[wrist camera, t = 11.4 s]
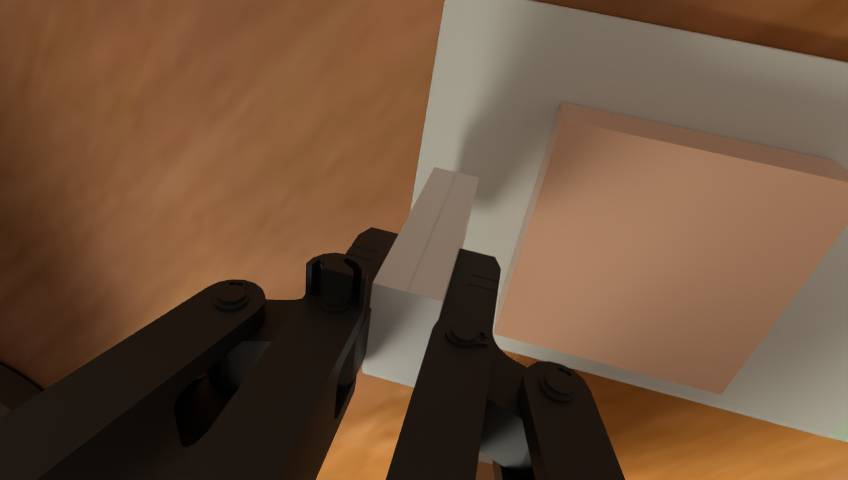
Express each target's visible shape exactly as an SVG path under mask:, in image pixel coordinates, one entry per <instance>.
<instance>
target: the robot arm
mask: <svg viewBox="0 0 848 480" xmlns="http://www.w3.org/2000/svg"><path fill="white" fill-rule="evenodd" d="M478 182H479V177H475V176H471V175H466V174H462V173H458V172H453V171H449V170H445V169H441V168H436V167H434V169H433V171H432V172H431V174H430V176H429V178H428V180H427V182H426V184H425V186H424V187H423V189H422V191H421V193H420V195H419V197H418V199H417V201H416V202H415V204H414V206H413V208H412V210H411V212H410V214H409V216H408V217H407V219H406V221H405V223H404V225H403V227H402V229H401V231H400V232H399V234H396V233H392V232H388V231H384V230H380V229H376V228H370V229H368V230H366V231H364V232H362V233H361V234H359V235H358V236H357V238H356V239H355V241H354V242H353V244H352V246H351V247H350V248H349V250H348V251H347V253H346V254H340V253H329V254H322V255H319V256H317V257H314V258H312V259H311V260H310V261H309V262H307V263H306V294H305V296H304V297H303V298H302V299H297V300H267V299H265V294H264V292H263V290H262V288H260V287H259V286H258V285H256V284H255V283H252V282H249V281H246V280H226V281H221V282H218V283H215V284H213V285H211V286H209V287H207V288H205V289H204V290H202V291H201V292H199V293H197V294H196V295H194V296H193V297H191V298H190V299H188V300H186V301H185V302H183V303H182V304H180V305H179V306H177V307H175V308H174V309H172V310H171V311H169V312H167V313H166V314H164V315H163V316H161V317H160V318H158V319H156V320H155V321H153V322H152V323H150V324H148V325H147V326H145V327H144V328H142V329H141V330H139V331H137V332H136V333H134V334H133V335H131V336H129V337H128V338H126V339H125V340H123V341H122V342H120V343H118V344H117V345H115V346H114V347H112V348H111V349H109V350H107V351H106V352H104V353H103V354H101V355H99V356H98V357H96V358H95V359H93V360H92V361H90V362H88V363H87V364H85V365H84V366H82V367H80V368H79V369H77V370H76V371H74V372H73V373H71V374H69V375H68V376H66V377H65V378H63V379H61V380H60V381H58V382H57V383H55V384H54V385H52V386H50V387H49V388H47V389H46V390H44V391H41V390H39V389H38V388H37V387H35V386H34V385H33V384H31V383H30V382H28V381H27V380H26V379H24V378H23V377H21V376H20V375H18V374H16V373H15V372H13V371H11V370H10V369H8V368H6V367H4V366H3V365H1V364H0V480H316V477H317V475H318V473H319V471H320V468H321V466H322V464H323V461H324V459H325V457H326V455H327V452H328V450H329V448H330V446H331V443H332V441H333V439H334V436H335V434H336V432H337V430H338V427H339V425H340V423H341V420H342V418H343V416H344V414H345V411H346V409H347V407H348V404H349V402H350V400H351V398H352V395H353V393H354V390H355V384H356V377H357V373H358V371H359V368H360V366H361V364H362V362H363V367H362V373H364V374H368V375H371V376H375V377H378V378H382V379H385V380H389V381H392V382H396V383H399V384H403V385H406V386H410V387H413V388H414V390H413V393H412V396H411V400H410V403H409V406H408V409H407V413H406V416H405V419H404V422H403V426H402V429H401V432H400V435H399V439H398V442H397V445H396V448H395V451H394V455H393V458H392V461H391V464H390V468H389V471H388V474H387V477H386V480H476V473H477V466H478V459H479V451H480V452H482V453H483V454H485V455H486V456H488V457H489V458H491V459H492V460H493V471H494V477H495V480H625V478H624V476H623V473H622V470H621V468H620V465H619V463H618V460H617V458H616V455H615V452H614V450H613V447H612V445H611V442H610V440H609V437H608V435H607V432H606V429H605V427H604V424H603V422H602V419H601V417H600V414H599V412H598V409H597V406H596V404H595V401H594V399H593V396H592V394H591V391H590V389H589V387H588V386H587V384H586V383H585V381H584V379H582V378H581V377H580V376H579V375H578V374H577V373H576V372H575V371H573V370H572V369H570V368H568V367H566V366H564V365H562V364H559V363H554V362H550V361H545V362H537V363H535V364H533V365H531V366H529V367H528V368H527V367H525V366H523V365H522V364H520V363H518V362H516V361H514V360H513V359H511V358H510V357H508V356H507V355H506V354H505V353H504V352H503V351H502V350H501V349H500V348H499V347H498V345H497V344H496V342H495V340H494V337H493V324H494V317H495V310H496V302H497V295H498V288H499V281H500V274H501V268H500V266H499V264H498V262H497V260H496V258H495V257H493V256H489V255H485V254H481V253H477V252H473V251H469V250H465V249H463V245H464V241H465V236H466V232H467V228H468V224H469V219H470V215H471V211H472V207H473V203H474V198H475V194H476V190H477V186H478Z"/></svg>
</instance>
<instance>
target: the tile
mask: <svg viewBox="0 0 848 480" xmlns="http://www.w3.org/2000/svg"><path fill="white" fill-rule="evenodd" d="M847 225H848V170H847V169H846V168H844V167H843V166H842V165H840V164H839V163H837V162H836V161H834V160H830V159H825V158H821V157H816V156H811V155H807V154H802V153H797V152H793V151H788V150H784V149H779V148H774V147H770V146H765V145H760V144H756V143H751V142H746V141H742V140H737V139H733V138H728V137H723V136H719V135H714V134H709V133H705V132H700V131H696V130H691V129H686V128H682V127H677V126H672V125H668V124H663V123H658V122H654V121H649V120H645V119H640V118H635V117H631V116H626V115H621V114H617V113H612V112H608V111H603V110H598V109H594V108H589V107H584V106H580V105H575V104H570V103H566V102H560V105H559V109H558V112H557V115H556V118H555V121H554V125H553V128H552V131H551V134H550V137H549V140H548V144H547V147H546V150H545V153H544V156H543V160H542V163H541V166H540V169H539V172H538V176H537V179H536V182H535V185H534V188H533V191H532V195H531V198H530V201H529V204H528V207H527V211H526V214H525V217H524V220H523V223H522V227H521V230H520V233H519V236H518V239H517V243H516V246H515V249H514V252H513V255H512V258H511V262H510V265H509V268H508V271H507V274H506V278H505V281H504V284H503V287H502V290H501V294H500V297H499V300H498V307H497V315H496V322H495V330H494V334H495V335H499V336H503V337H507V338H510V339H514V340H518V341H522V342H525V343H529V344H533V345H537V346H540V347H544V348H548V349H552V350H555V351H559V352H563V353H566V354H570V355H574V356H578V357H581V358H585V359H589V360H593V361H596V362H600V363H604V364H608V365H611V366H615V367H619V368H622V369H626V370H630V371H634V372H637V373H641V374H645V375H649V376H652V377H656V378H660V379H664V380H667V381H671V382H675V383H679V384H682V385H686V386H690V387H693V388H697V389H701V390H705V391H708V392H712V393H716V394H720V395H721V394H722V393H723V392H724V390H725V389H726V388H727V386H728V385H729V384H730V382H731V381H732V380H733V378H734V377H735V376H736V374H737V373H738V372H739V370H740V369H741V368H742V366H743V365H744V364H745V362H746V361H747V359H748V358H749V357H750V355H751V354H752V353H753V351H754V350H755V349H756V347H757V346H758V345H759V343H760V342H761V341H762V339H763V338H764V337H765V335H766V334H767V333H768V331H769V330H770V329H771V327H772V326H773V325H774V323H775V322H776V320H777V319H778V318H779V316H780V315H781V314H782V312H783V311H784V310H785V308H786V307H787V306H788V304H789V303H790V302H791V300H792V299H793V298H794V296H795V295H796V294H797V292H798V291H799V290H800V288H801V287H802V286H803V284H804V283H805V282H806V280H807V279H808V277H809V276H810V275H811V273H812V272H813V271H814V269H815V268H816V267H817V265H818V264H819V263H820V261H821V260H822V259H823V257H824V256H825V255H826V253H827V252H828V251H829V249H830V248H831V247H832V245H833V244H834V243H835V241H836V240H837V238H838V237H839V236H840V234H841V233H842V232H843V230H844V229H845V228H846V226H847Z"/></svg>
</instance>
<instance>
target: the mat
mask: <svg viewBox="0 0 848 480" xmlns="http://www.w3.org/2000/svg"><path fill="white" fill-rule="evenodd" d="M560 102H566V103H570V104H575V105H580V106H584V107H589V108H594V109H598V110H603V111H608V112H612V113H617V114H621V115H626V116H631V117H635V118H640V119H645V120H649V121H654V122H658V123H663V124H668V125H672V126H677V127H682V128H686V129H691V130H696V131H700V132H705V133H709V134H714V135H719V136H723V137H728V138H733V139H737V140H742V141H746V142H751V143H756V144H760V145H765V146H770V147H774V148H779V149H784V150H788V151H793V152H797V153H802V154H807V155H811V156H816V157H821V158H825V159H830V160H834V161H836V162H837V163H839V164H840V165H842V166H843V167H844V168H846V169H847V170H848V62H844V61H839V60H834V59H829V58H823V57H818V56H813V55H808V54H803V53H798V52H793V51H788V50H783V49H778V48H772V47H767V46H762V45H757V44H752V43H747V42H742V41H737V40H732V39H727V38H721V37H716V36H711V35H706V34H701V33H696V32H691V31H686V30H681V29H676V28H670V27H665V26H660V25H655V24H650V23H645V22H640V21H635V20H630V19H625V18H620V17H614V16H609V15H604V14H599V13H594V12H589V11H584V10H579V9H574V8H569V7H563V6H558V5H553V4H548V3H543V2H538V1H533V0H445V2H444V8H443V14H442V20H441V26H440V33H439V39H438V45H437V51H436V57H435V63H434V69H433V75H432V82H431V88H430V94H429V100H428V106H427V112H426V118H425V125H424V131H423V137H422V143H421V149H420V155H419V161H418V167H417V174H416V180H415V186H414V192H413V198H412V204H411V210H412V208H413V206H414V204H415V202H416V201H417V199H418V197H419V195H420V193H421V191H422V189H423V187H424V186H425V184H426V182H427V180H428V178H429V176H430V174H431V172H432V171H433V169H434V167H436V168H441V169H445V170H449V171H453V172H458V173H462V174H466V175H471V176H475V177H479V182H478V186H477V190H476V194H475V198H474V203H473V207H472V211H471V215H470V219H469V224H468V228H467V232H466V236H465V241H464V245H463V249H465V250H469V251H473V252H477V253H481V254H485V255H489V256H493V257H495V258H496V260H497V262H498V264H499V266H500V268H501V274H500V281H499V288H498V295H497V302H496V310H495V317H494V324H493V337H494V340H495V342H496V344H497V345H498V347H499V348H500V349H501V350H505V351H509V352H513V353H516V354H520V355H524V356H527V357H531V358H535V359H538V360H542V361H550V362H554V363H559V364H562V365H564V366H566V367H568V368H572V369H575V370H579V371H583V372H586V373H590V374H594V375H598V376H601V377H605V378H609V379H612V380H616V381H620V382H623V383H627V384H631V385H635V386H638V387H642V388H646V389H649V390H653V391H657V392H660V393H664V394H668V395H671V396H675V397H679V398H683V399H686V400H690V401H694V402H697V403H701V404H705V405H708V406H712V407H716V408H720V409H723V410H727V411H731V412H734V413H738V414H742V415H745V416H749V417H753V418H757V419H760V420H764V421H768V422H771V423H775V424H779V425H782V426H786V427H790V428H793V429H797V430H801V431H805V432H808V433H812V434H816V435H819V436H823V437H829V438H833V439H837V440H840V441H844V442H848V225H847V226H846V228H845V229H844V230H843V232H842V233H841V234H840V236H839V237H838V238H837V240H836V241H835V243H834V244H833V245H832V247H831V248H830V249H829V251H828V252H827V253H826V255H825V256H824V257H823V259H822V260H821V261H820V263H819V264H818V265H817V267H816V268H815V269H814V271H813V272H812V273H811V275H810V276H809V277H808V279H807V280H806V282H805V283H804V284H803V286H802V287H801V288H800V290H799V291H798V292H797V294H796V295H795V296H794V298H793V299H792V300H791V302H790V303H789V304H788V306H787V307H786V308H785V310H784V311H783V312H782V314H781V315H780V316H779V318H778V319H777V320H776V322H775V323H774V325H773V326H772V327H771V329H770V330H769V331H768V333H767V334H766V335H765V337H764V338H763V339H762V341H761V342H760V343H759V345H758V346H757V347H756V349H755V350H754V351H753V353H752V354H751V355H750V357H749V358H748V359H747V361H746V362H745V364H744V365H743V366H742V368H741V369H740V370H739V372H738V373H737V374H736V376H735V377H734V378H733V380H732V381H731V382H730V384H729V385H728V386H727V388H726V389H725V390H724V392H723V393H722V394H721V395H720V394H716V393H712V392H708V391H705V390H701V389H697V388H693V387H690V386H686V385H682V384H679V383H675V382H671V381H667V380H664V379H660V378H656V377H652V376H649V375H645V374H641V373H637V372H634V371H630V370H626V369H622V368H619V367H615V366H611V365H608V364H604V363H600V362H596V361H593V360H589V359H585V358H581V357H578V356H574V355H570V354H566V353H563V352H559V351H555V350H552V349H548V348H544V347H540V346H537V345H533V344H529V343H525V342H522V341H518V340H514V339H510V338H507V337H503V336H499V335H495V334H494V330H495V322H496V315H497V307H498V300H499V297H500V294H501V290H502V287H503V284H504V281H505V278H506V274H507V271H508V268H509V265H510V262H511V258H512V255H513V252H514V249H515V246H516V243H517V239H518V236H519V233H520V230H521V227H522V223H523V220H524V217H525V214H526V211H527V207H528V204H529V201H530V198H531V195H532V191H533V188H534V185H535V182H536V179H537V176H538V172H539V169H540V166H541V163H542V160H543V156H544V153H545V150H546V147H547V144H548V140H549V137H550V134H551V131H552V128H553V125H554V121H555V118H556V115H557V112H558V109H559V105H560ZM411 210H410V212H411Z"/></svg>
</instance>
